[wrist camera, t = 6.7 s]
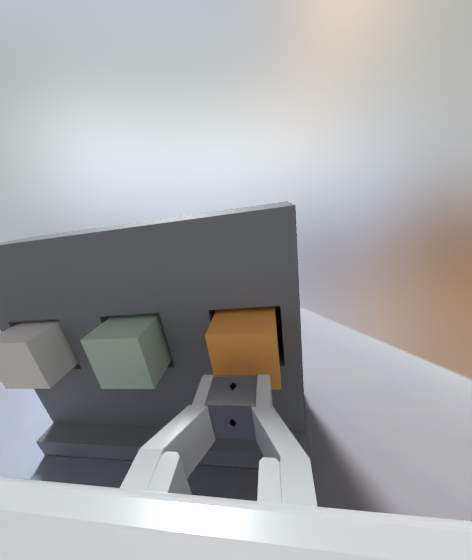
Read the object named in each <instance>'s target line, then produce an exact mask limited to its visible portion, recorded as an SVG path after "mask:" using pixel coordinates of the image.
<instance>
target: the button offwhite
mask: <svg viewBox="0 0 472 560" xmlns="http://www.w3.org/2000/svg"><path fill="white" fill-rule="evenodd" d="M77 364H78V361H77V359H76V356H75V354H74V352H73V350H72V348H71V346H70V343H69V341H68V339H67V337H66V335H65V333H64V331H63V328H62V326H61V324H60V322H59V320H58V319H53V320H37V321H22V322H20V323H18V324H16V325H14V326H12V327H11V328H9V329H7V330H5V331H3V332H1V333H0V380H1V382H2V383H3V385H4V386H5V388H11V389H50V388H52V387H53V386H54V385H55V384H56V383H57V382H58V381H59V380H60V379H62V378H63V377H64V376H65V375H66V374H67V373H68V372H69V371H71V370H72V369H73V368H74V367H75V366H76V365H77Z"/></svg>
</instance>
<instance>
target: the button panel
mask: <svg viewBox="0 0 472 560" xmlns="http://www.w3.org/2000/svg"><path fill="white" fill-rule="evenodd" d="M297 257H298V256H297V233H296V211H295V205H294V204H291V203H289V202H280V203H273V204H267V205H259V206H252V207H245V208H237V209H231V210H223V211H216V212H208V213H202V214H194V215H187V216H180V217H172V218H165V219H158V220H151V221H144V222H136V223H129V224H122V225H115V226H108V227H101V228H93V229H87V230H79V231H72V232H65V233H58V234H50V235H43V236H36V237H30V238H24V239H19V240H14V241H8V242H3V243H0V331H1V332H3V331H5V330H7V329H9V328H11V327H12V326H14V325H16V324H18V323H20V322H22V321H37V320H53V319H58V320H59V322H60V324H61V326H62V328H63V331H64V333H65V335H66V337H67V339H68V341H69V343H70V346H71V348H72V350H73V352H74V354H75V356H76V359H77V361H78V364H77V365H76V366H75V367H74V368H73V369H72V370H71V371H69V372H68V373H67V374H66V375H65V376H64V377H63V378H62V379H60V380H59V381H58V382H57V383H56V384H55V385H54V386H53V387H52V388H50V389H34V390H35V391H36V393H37V395H38V396H39V398H40V400H41V402H42V403H43V405H44V407H45V409H46V410H47V412H48V414H49V416H50V417H51V419H52V421H53V424H52V425H51V426H50V427H49V429H48V430H47V431H46V432H45V433H44V434H43V435H42V436H41V437H40V438H39V439H38V440H37V441H36V442H37V444H38V445H39V447H40V448H41V450H42V451H43V453H44V455H56V456H71V457H86V458H102V459H117V460H132V461H134V459H135V457H136V455H137V453H138V451H139V449H140V448H141V447H142V446H143V445H144V444H145V443H147V442H148V441H149V440H150V439H151V438H152V437H153V436H154V435H156V434H157V433H158V432H159V431H160V430H161V429H162V428H163V427H164V426H166V425H167V424H168V423H169V422H170V421H171V420H172V419H173V418H175V417H176V416H177V415H178V414H179V413H180V412H181V411H182V410H184V409H185V408H186V407H187V406H188V405H192V403H193V400H194V397H195V394H196V392H197V389H198V386H199V384H200V381H201V378H202V376H203V375H213V370H212V366H211V361H210V357H209V352H208V347H207V343H206V338H205V334H206V332H207V329H208V327H209V325H210V323H211V321H212V318H213V316H214V314H215V312H216V310H220V309H237V308H254V307H270V306H275V313H276V325H277V336H278V348H279V362H280V377H281V390H273V389H271V392H272V405H273V408H274V409H275V410H276V412H277V413H278V415H279V416H280V417H281V419H282V420H283V422H284V423H285V425H286V426H287V427H288V429H289V430H290V432H291V433H292V434H293V436H294V437H295V439H296V440H297V441H298V443H299V444H300V446H301V447H302V448H303V450H304V451H305V453H306V454H307V456H308V457H309V452H308V445H307V439H306V432H305V411H304V389H303V367H302V345H301V322H300V301H299V278H298V258H297ZM154 313H159V315H160V318H161V322H162V325H163V329H164V332H165V336H166V339H167V343H168V346H169V350H170V353H171V357H172V360H171V362H170V364H169V365H168V367H167V369H166V370H165V372H164V374H163V376H162V377H161V379H160V381H159V382H158V384H157V386H156V388H155V389H101V387H100V384H99V382H98V380H97V378H96V375H95V373H94V371H93V368H92V366H91V364H90V362H89V359H88V357H87V355H86V353H85V350H84V348H83V346H82V344H81V341H80V340H81V339H82V338H84V337H85V336H86V335H87V334H89V333H90V332H91V331H93V330H94V329H95V328H96V327H98V326H99V325H100V324H102V323H103V322H104V321H105V320H107V319H108V318H109V317H111V316H120V315H137V314H154ZM263 457H264V456H263V454H262V452H261V450H260V448H259V446H258V444H257V441H256V440H244V439H216V440H215V442H214V443H213V444H212V446H211V447H210V448H209V450H208V451H207V453H206V454H205V455H204V457H203V458H202V459H201V461H200V462H199V464H198V465H209V466H224V467H239V468H255V469H259V461H260V460H261V459H262V458H263Z"/></svg>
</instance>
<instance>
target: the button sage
mask: <svg viewBox="0 0 472 560" xmlns="http://www.w3.org/2000/svg"><path fill="white" fill-rule="evenodd" d="M80 341H81V344H82V346H83V348H84V350H85V353H86V355H87V357H88V359H89V362H90V364H91V366H92V368H93V371H94V373H95V375H96V378H97V380H98V382H99V384H100V387H101V389H155V388H156V386H157V384H158V382H159V381H160V379H161V377H162V376H163V374H164V372H165V370H166V369H167V367H168V365H169V364H170V362H171V360H172V357H171V353H170V350H169V346H168V343H167V339H166V336H165V332H164V329H163V325H162V322H161V318H160V315H159V313H154V314H137V315H120V316H111V317H109V318H108V319H107V320H105V321H104V322H103V323H102V324H100V325H99V326H98V327H96V328H95V329H94V330H93V331H91V332H90V333H89V334H87V335H86V336H85V337H84V338H82V339H81V340H80Z"/></svg>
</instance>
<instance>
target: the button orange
mask: <svg viewBox="0 0 472 560" xmlns="http://www.w3.org/2000/svg"><path fill="white" fill-rule="evenodd" d="M205 338H206V343H207V347H208V352H209V357H210V361H211V366H212V370H213V375H261V374H269V375H270V382H271V389H273V390H281V377H280V362H279V348H278V336H277V325H276V313H275V306H270V307H254V308H237V309H220V310H216V312H215V314H214V316H213V318H212V321H211V323H210V325H209V327H208V329H207V332H206V334H205Z"/></svg>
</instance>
